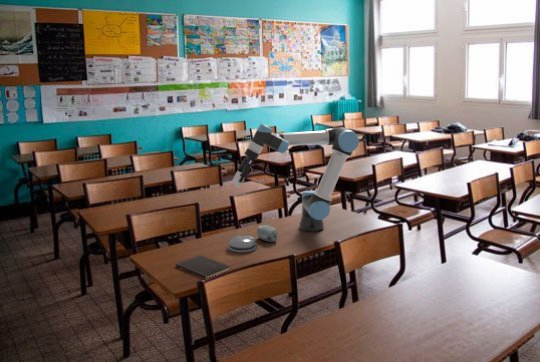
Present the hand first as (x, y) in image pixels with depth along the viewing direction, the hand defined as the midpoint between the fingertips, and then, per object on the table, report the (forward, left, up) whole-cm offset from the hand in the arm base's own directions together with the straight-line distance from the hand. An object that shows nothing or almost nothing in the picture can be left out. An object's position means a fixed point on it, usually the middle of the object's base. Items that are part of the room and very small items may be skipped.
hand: (235, 184), depth 287 cm
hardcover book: (+36, +21, -34) cm, 54 cm away
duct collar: (+4, +11, -33) cm, 35 cm away
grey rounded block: (-14, +10, -33) cm, 37 cm away
